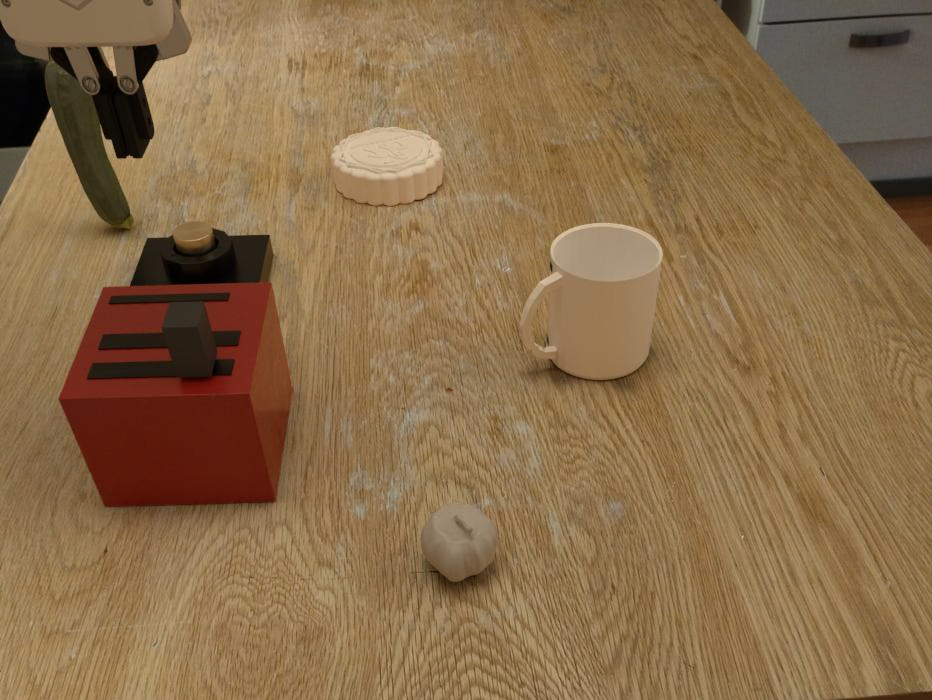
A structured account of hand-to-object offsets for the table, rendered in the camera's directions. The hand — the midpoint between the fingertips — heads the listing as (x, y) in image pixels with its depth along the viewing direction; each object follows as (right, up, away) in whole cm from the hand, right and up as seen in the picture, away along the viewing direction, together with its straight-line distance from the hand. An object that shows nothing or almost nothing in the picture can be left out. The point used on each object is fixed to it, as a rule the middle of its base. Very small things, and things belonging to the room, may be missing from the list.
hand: (134, 149), depth 65 cm
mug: (+32, -8, +20) cm, 39 cm away
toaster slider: (+4, -14, +2) cm, 15 cm away
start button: (-3, +3, +25) cm, 25 cm away
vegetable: (-14, +9, +35) cm, 39 cm away
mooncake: (+13, +17, +41) cm, 46 cm away
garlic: (+22, -28, +4) cm, 36 cm away
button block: (-3, +1, +28) cm, 28 cm away
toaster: (+1, -17, +13) cm, 22 cm away
